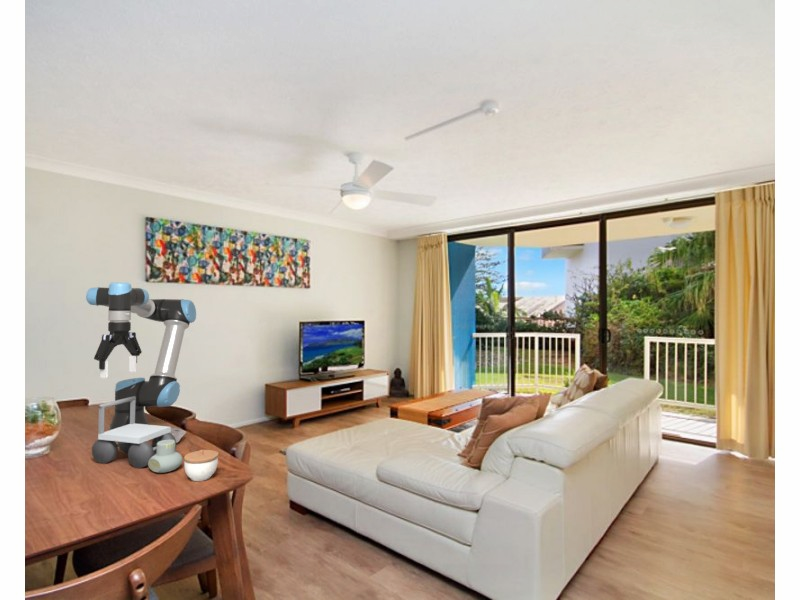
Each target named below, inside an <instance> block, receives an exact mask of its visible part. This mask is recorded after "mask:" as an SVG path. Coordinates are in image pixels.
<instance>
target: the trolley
mask: <svg viewBox="0 0 800 600" xmlns="http://www.w3.org/2000/svg"><path fill="white" fill-rule="evenodd" d="M135 400H136V397H135V396H133V397H129V398H124V399H120V400H116V401H115V400H113V401H108V402H105V403H100V404H99V405H98V430H97V431H98V432H97V434H98V436H97V439H96V440H95V441H94V443H93V444H92V447H91V454H92V457H93V459H94V460H95V461H96V462H97V463H99V464H103V465H104V464H107V463H109V462H110V463H111V462H112V461H113V460H115V459H116V457H117V455H118V451H119V450H120V451H121V453H124V454H126V455H127V457H128V462H129V464H130V465H132V467H133V468H137V469H142V468H145V467H146V466H148V461H149V460H150V458H151V457H152V456H154V455H155V454H156V451H157V443H158V442H159V441H162V440H174V441H175V451H176V449H177V444H176V440H175V438H174V436H173V435H172V434H170V433H169V432H171V428H172V426H165V425H156V424H148V425H146V424H136V423H135ZM129 401H130V424H128V425H125V426H122V427H119V428H115V429H112V430H110V429H109V430H106V431H105V408H110V407H113V406H115V405H117V404H121V403H125V402H129ZM150 440H152V442H151V443H149V441H150ZM118 448H119V449H118Z"/></svg>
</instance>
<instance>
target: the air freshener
mask: <svg viewBox="0 0 800 600" xmlns="http://www.w3.org/2000/svg"><path fill="white" fill-rule="evenodd" d="M183 462H184V457H183V456H182V454H181V453H180V452H178V451H176V450H175V441H174V440H162V441H159V442H158V443H157V451H156V454H155V453H154V456H152V457H151V458H150V460H149V461H148V465H147V466H148V468H149V469H150V471H152V472H154V473H156V474H157V473H158V474H163V473H169V472H172V471H175V470H177V468H179V467H180V466H181V465H182V463H183Z"/></svg>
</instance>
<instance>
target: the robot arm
mask: <svg viewBox="0 0 800 600" xmlns="http://www.w3.org/2000/svg"><path fill="white" fill-rule="evenodd" d="M85 298H86V299H85V300H86V301H87V303H88V304H89V305H90V306H97V307H98V306H104V307H108V311H107V314H108V319H107V320H108V323H107V324H108V325H107V326H108V327H107V328H108V329H107V330H108V332H109V334H102V335H101V340H100V344H99V346H98V348H97V350H96V352H95V354H94V357H93V359H94V360H95V361H98V366H99V367H98V369H99V371H100V372H99V373H100V375H99V376H100V379H107V378H109V360H107V359H108V358H109V356H110V355H111V353H112V352H113V351H114V349H115V348H116V347H117V346H120V345H123V347H125V349H126V350H127V352H129V354H130V355H129V360H128V364H129V366H128V372H130V373H136V372H137V364H138V356H140V354H142V349H141V346H140V344H139V341H138V339H137V333H136V332H133V331H131V330H132V329H131V328H132V327H131V326H132V325H131V323H132V322H131V320H132V318H131V317H132V314H136V315H137V316H138V317H140V318H143V319H147V320H151V321H155V322H160V323H161V322H162V323H163V325H164V326H165V329H164V334H163V337H162V342H161V346H160V348H159V354H158V358H157V361H156V365H155V369H154V373H153V374H151V375H150V376H149V380H147V381H146V378H145V377H135V378H134V377H133V378H127V379H123V380H120V381H118V382H117V383H115V387H114V388H115V389H114V401H116V400H120V399H124V398H129V397H133V396H135V397H136V400H135V423H136V424H146V425H149V422H148V421H149V420H147V416H146V413H145V407H150V408H151V407H152V408H153V407H157V408H163V407H164V408H165V407H171V406H173V405H174V403H176V402H177V400H178V397H179V396H180V393H181V392H180V391H181V389H180V387H181V385H180V382H178V378H177V377H176V375H175V374H176V369H177V365H178V361H179V356H180V353H181V347H182V343H183V339H184V335H185V331H186V330H187V329H188V328H189V327H190V323H191V324H192V323H194V322H195V321H196V319H197V310H196V306H195V304H194V301H192V300H190V299H183V298H181V299H174V298H173V299H172V298H171V299H170V298H168V299H167V298H161V299H160V298H158V299H157V298H156V299H155V298H154V299H153V298H150V294H149V292H148V291H147V290H146V289H144V288H142V287H141V288H140V287H132V284H131V283H129V282H111V283H109V285H108V287H100V286H98V287H97V286H96V287H90V288H89V289H88V290H87V291H86V296H85ZM128 424H130V401H129V402H125V403H121V404H117V405H114V415H113V418H112V420H111V423H110V425H109V430H112V429H115V428H119V427H122V426H125V425H128Z"/></svg>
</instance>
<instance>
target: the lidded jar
mask: <svg viewBox="0 0 800 600" xmlns="http://www.w3.org/2000/svg"><path fill="white" fill-rule="evenodd" d="M219 454H220V453H219V451H217V450H213V449H200V450H195V451H191V452H189V453H187V454H185V455H184V457H183V463H184V465H183V466H184V467H183V468H184V472H185V474H186V476H187V477H188V478H190V480H191V481H193V482H203V481H206V480H209V479H210V478H211V477H212V476H213V474H214V473H215V472H216V470H217V468H218V464H219Z"/></svg>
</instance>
